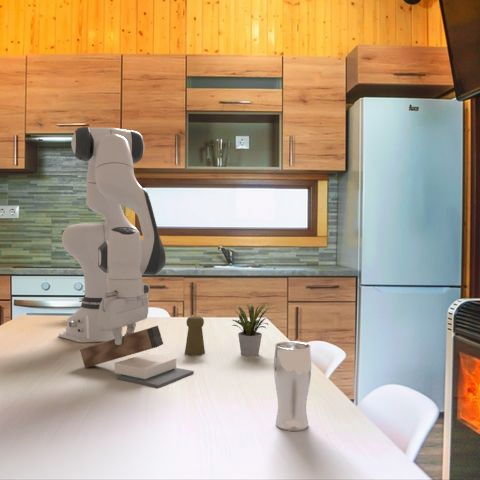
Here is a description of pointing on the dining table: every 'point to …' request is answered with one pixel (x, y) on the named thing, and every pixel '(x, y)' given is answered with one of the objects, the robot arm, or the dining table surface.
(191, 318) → the olive tapered upright piece
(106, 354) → the wooden handle bar
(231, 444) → the dining table surface
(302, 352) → the beer glass
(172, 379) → the mat
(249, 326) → the house plant
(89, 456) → the dining table surface
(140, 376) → the tile
